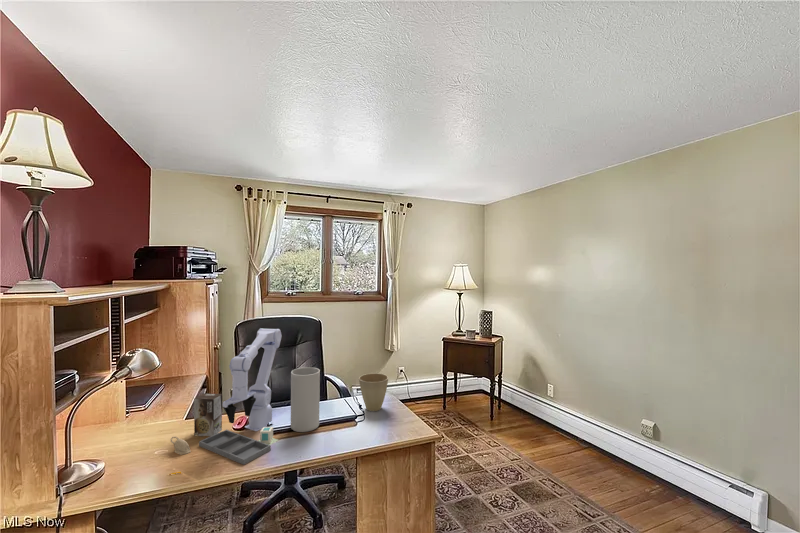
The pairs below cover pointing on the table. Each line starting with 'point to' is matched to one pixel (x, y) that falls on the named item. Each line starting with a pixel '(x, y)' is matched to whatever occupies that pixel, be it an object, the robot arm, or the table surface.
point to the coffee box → (207, 414)
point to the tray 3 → (249, 452)
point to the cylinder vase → (305, 399)
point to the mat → (272, 441)
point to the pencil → (174, 473)
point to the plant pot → (373, 390)
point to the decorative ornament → (181, 446)
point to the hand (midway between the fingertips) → (239, 419)
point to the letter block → (266, 435)
